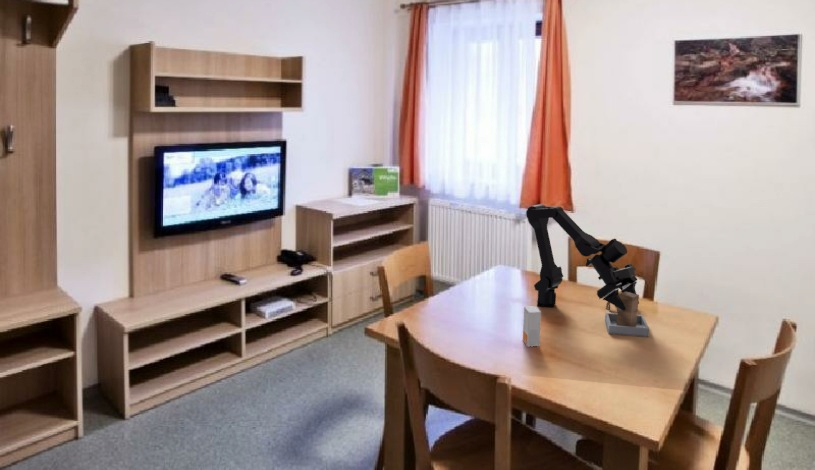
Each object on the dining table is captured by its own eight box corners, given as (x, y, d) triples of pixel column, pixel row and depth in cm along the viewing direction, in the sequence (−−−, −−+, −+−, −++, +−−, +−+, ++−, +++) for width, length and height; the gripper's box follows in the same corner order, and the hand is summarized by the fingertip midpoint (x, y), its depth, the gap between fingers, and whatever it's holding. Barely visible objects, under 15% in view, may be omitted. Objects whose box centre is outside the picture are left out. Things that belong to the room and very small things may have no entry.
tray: (608, 333, 212) (609, 325, 211) (604, 320, 224) (605, 312, 224) (648, 337, 209) (649, 328, 209) (642, 323, 222) (643, 315, 221)
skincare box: (522, 339, 207) (523, 305, 204) (534, 339, 207) (536, 305, 204) (527, 347, 201) (528, 312, 198) (539, 346, 201) (541, 312, 198)
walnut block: (616, 326, 217) (619, 294, 214) (622, 323, 220) (625, 291, 217) (629, 330, 213) (632, 297, 211) (635, 327, 216) (639, 294, 214)
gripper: (607, 262, 208) (635, 301, 202) (634, 252, 220) (661, 289, 215) (585, 279, 215) (611, 317, 210) (612, 269, 227) (638, 305, 222)
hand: (631, 307), depth 214 cm, fingers open, 9 cm apart
